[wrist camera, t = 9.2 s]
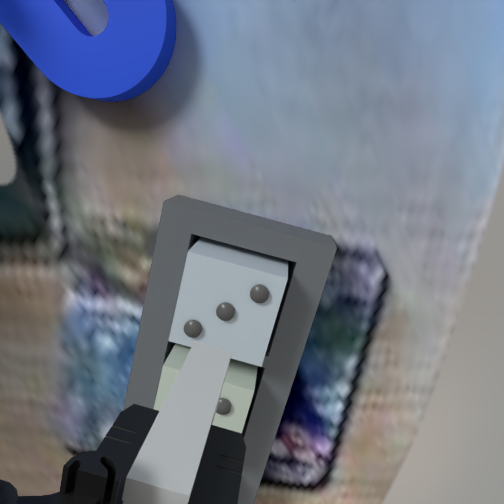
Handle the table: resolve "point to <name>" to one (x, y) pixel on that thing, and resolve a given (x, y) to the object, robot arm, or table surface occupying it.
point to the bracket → (95, 45)
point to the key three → (229, 299)
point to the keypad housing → (285, 327)
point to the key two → (233, 392)
